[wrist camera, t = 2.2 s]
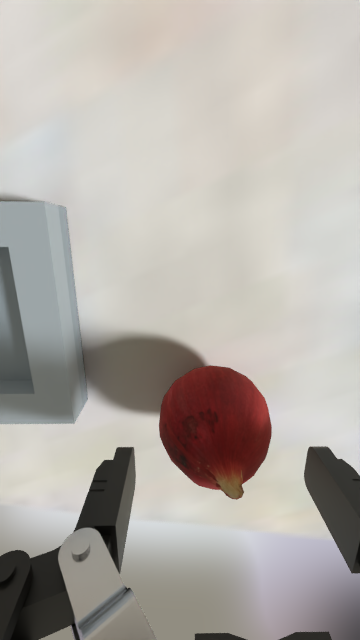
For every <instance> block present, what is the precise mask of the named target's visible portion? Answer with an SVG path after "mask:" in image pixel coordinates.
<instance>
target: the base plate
mask: <svg viewBox="0 0 360 640" xmlns="http://www.w3.org/2000/svg"><path fill="white" fill-rule="evenodd" d="M87 400H88V397H87V388H86V379H85V370H84V362H83V353H82V344H81V335H80V327H79V318H78V309H77V301H76V292H75V283H74V274H73V266H72V257H71V248H70V240H69V231H68V222H67V213H66V207H63V206H59V205H55V204H52V203H48V202H23V201H0V424H74V423H75V421H76V420H77V418H78V416H79V414H80V412H81V411H82V409H83V407H84V405H85V403H86V401H87Z"/></svg>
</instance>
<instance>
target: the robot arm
mask: <svg viewBox="0 0 360 640" xmlns="http://www.w3.org/2000/svg"><path fill="white" fill-rule="evenodd" d="M135 477H136V474H135V456H134V447H118V448H117V449H116V452H115V456H114V459H113V460H104V461H103V462H102V464H101V465H100V466H99V467H98V468H97V469H96V472H95V475H94V478H93V481H92V483H91V486H90V489H89V492H88V495H87V497H86V500H85V503H84V506H83V509H82V511H81V514H80V517H79V520H78V523H77V525H76V528H75V530H74V532H73V533H72V534H71V535H70V536H69V537H67V539H66V540H65V541H64V543H63V544H62V545H61V546H60V547H59V548H57V549H55V550H53V551H50V552H47V553H45V554H42V555H39V556H36V557H33V558H30V557H29V555H28V554H27V553H26V552H24V551H21V550H15V551H11V552H8V553H5V554H3V555H2V556H0V640H39V639H41V638H43V637H45V636H48V635H50V634H52V633H55V632H57V631H59V630H61V629H64V628H66V627H68V626H70V627H71V630H72V634H73V638H74V640H157V639H156V637H155V635H154V633H153V630H152V629H151V626H150V625H149V622H148V620H147V618H146V616H145V614H144V612H143V610H142V608H141V606H140V604H139V602H138V600H137V598H136V596H135V594H134V593H133V591H132V590H131V589H130V588H128V589H127V588H126V587H125V585H124V583H123V581H122V579H121V577H120V571H121V565H122V559H123V553H124V548H125V542H126V536H127V530H128V524H129V519H130V513H131V507H132V501H133V496H134V490H135ZM304 479H305V484H306V487H307V489H308V491H309V493H310V495H311V497H312V499H313V501H314V503H315V504H316V506H317V508H318V510H319V512H320V514H321V516H322V518H323V520H324V521H325V523H326V525H327V527H328V529H329V531H330V533H331V535H332V537H333V539H334V540H335V542H336V544H337V546H338V548H339V550H340V552H341V554H342V555H343V557H344V559H345V561H346V563H347V565H348V567H349V569H350V571H351V573H360V476H359V475H358V473H357V472H356V471H355V469H354V468H353V467H351V466H350V465H349V464H347V463H346V462H345V461H344V460H342V459H337V458H336V457H335V455H334V454H333V453H332V451H331V450H330V449H329V448H328V447H309V449H308V453H307V459H306V465H305V472H304ZM195 640H246V639H244V638H241V637H238V636H235V635H232V634H229V633H204V634H195ZM280 640H332V639H331V636H330V634H329V632H296V633H293V634H291V635H289V636H287V637H284V638H282V639H280Z"/></svg>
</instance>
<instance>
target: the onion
mask: <svg viewBox="0 0 360 640" xmlns="http://www.w3.org/2000/svg"><path fill="white" fill-rule="evenodd" d="M271 428H272V427H271V422H270V417H269V412H268V407H267V404H266V401H265V398H264V397H263V395H262V394H261V393H260V392H259V390H258V389H257V388H256V386H255V385H254V384H253V382H252V381H251V380H250V379H248V378H247V377H246V376H244V375H242V374H240V373H238V372H236V371H234V370H233V369H231V368H226V367H218V366H206V367H201V368H196V369H193V370H192V371H190V372H188V373H187V374H185V375H184V376H182V377H180V378H179V379H177V380H176V381H175V382H174V383H173V385H172V386H171V387H170V389H169V390H168V392H167V393H166V394H165V396H164V398H163V401H162V405H161V412H160V421H159V431H160V438H161V440H162V443H163V445H164V447H165V449H166V451H167V453H168V455H169V457H170V459H171V461H172V462H173V463H174V464H175V465H176V466H177V467H178V468H179V469H180V470H181V471H182V472H183V473H184V474H185V475H187V476H188V477H189V478H190V479H191V480H192V481H193V482H194V483H196V484H197V485H199V486H202V487H206V488H210V489H215V490H222V491H223V492H224V493H225V494H226V495H227V496H228V497H230V498H232V499H239V498H241V497H242V495H243V493H244V491H243V488H242V484H243V483H245V482H246V481H247V480H249V479H250V478H251V477H252V476H254V474H255V473H256V471H257V470H258V468H259V467H260V465H261V464H262V463H263V461H264V460H265V458H266V455H267V452H268V448H269V444H270V439H271Z"/></svg>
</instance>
